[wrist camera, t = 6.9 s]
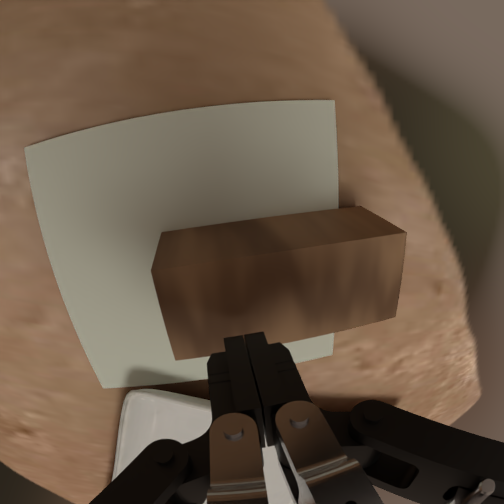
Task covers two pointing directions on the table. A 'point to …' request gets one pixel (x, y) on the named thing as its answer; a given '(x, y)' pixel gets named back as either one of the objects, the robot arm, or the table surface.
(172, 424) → the square plate
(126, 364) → the sage mat
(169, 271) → the walnut block
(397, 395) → the table surface
